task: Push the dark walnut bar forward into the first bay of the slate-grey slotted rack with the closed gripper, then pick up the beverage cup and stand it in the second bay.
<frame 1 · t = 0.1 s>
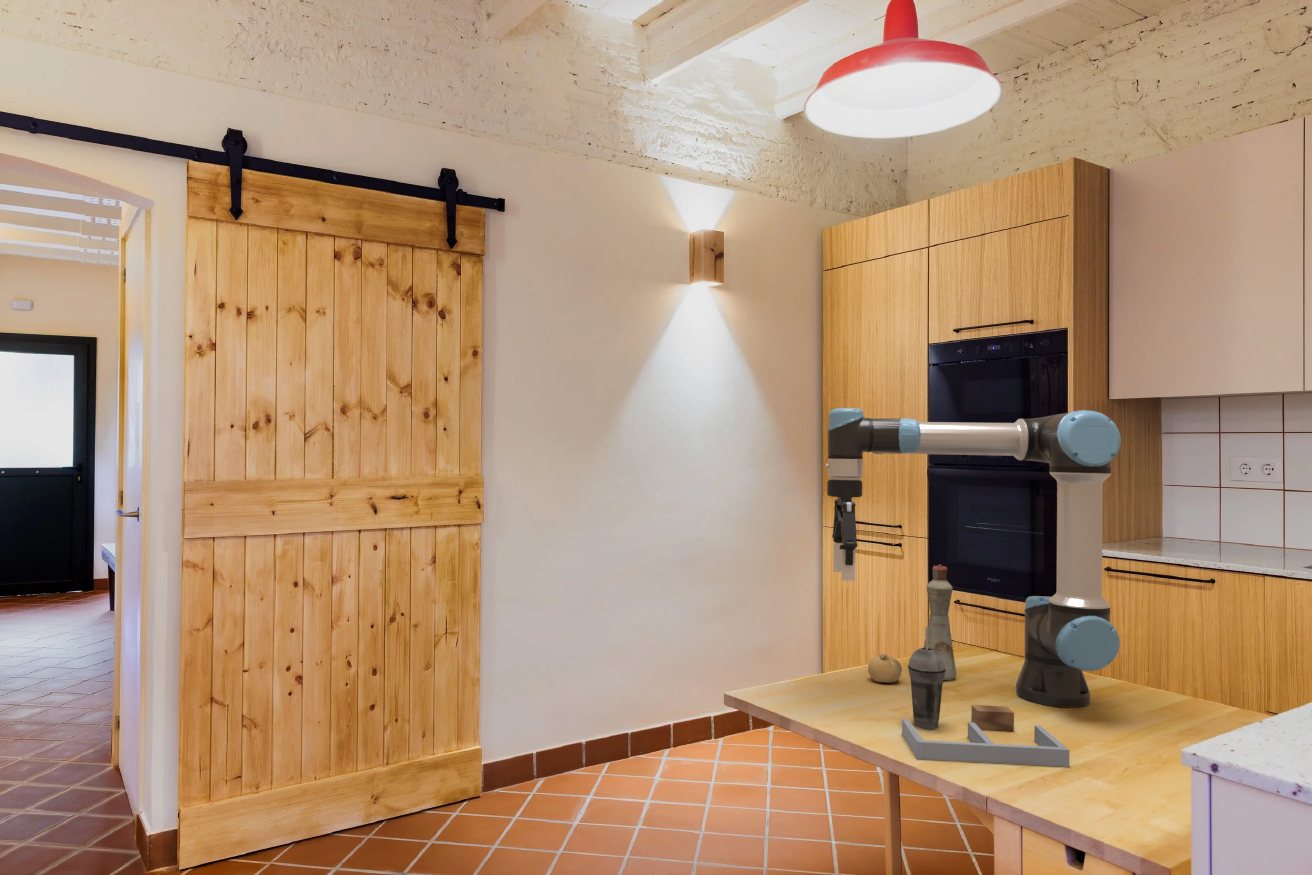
hand: (843, 576, 175), 28 cm above the table, fingers open, 13 cm apart
bottle: (937, 677, 199), on the table
walnut bar: (992, 728, 161), on the table
slot rack: (980, 748, 149), on the table
beverage cup: (926, 726, 161), on the table
onion: (884, 682, 194), on the table
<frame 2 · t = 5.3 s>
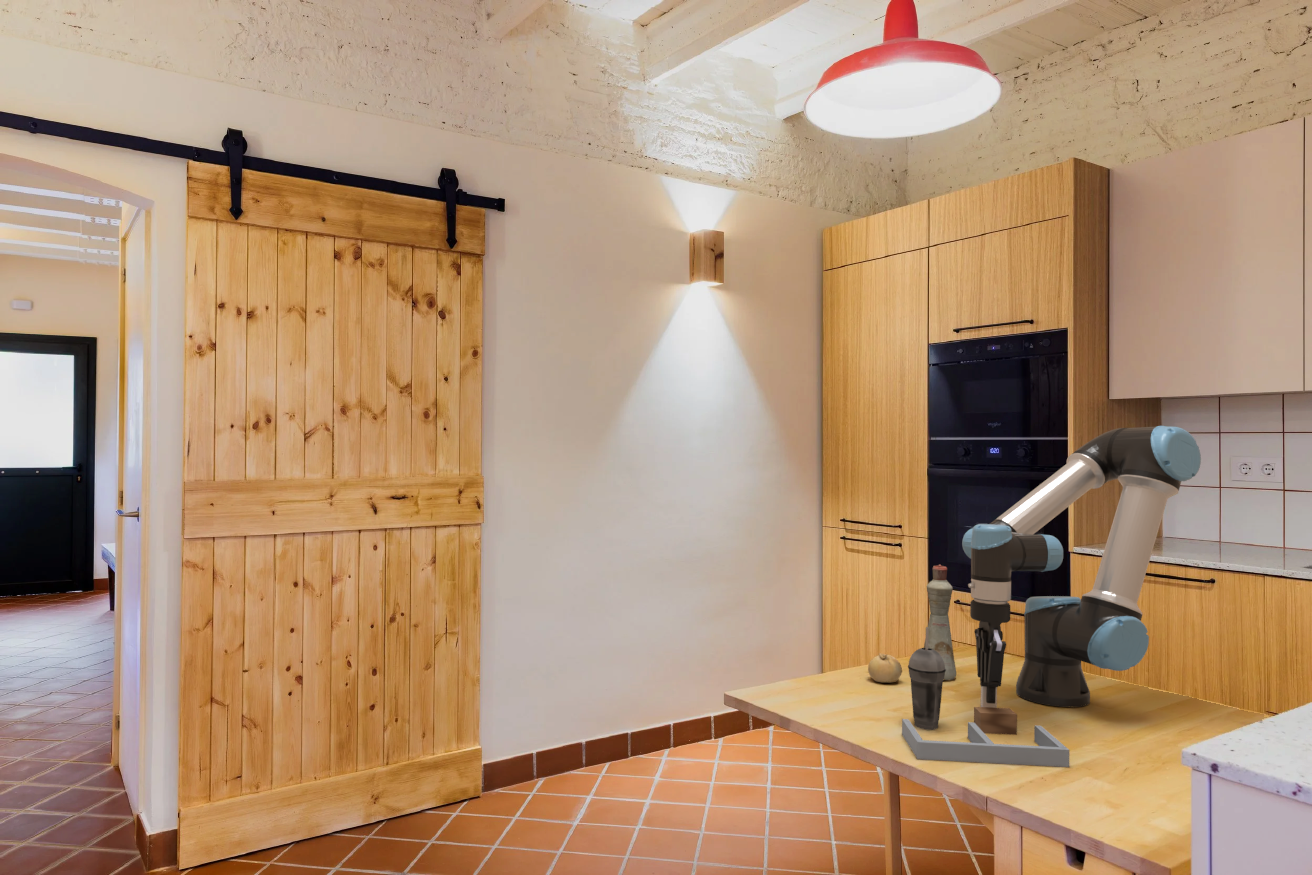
hand: (988, 717, 162), 2 cm above the table, fingers closed
walnut bar: (995, 730, 159), on the table, touching gripper
everything else where it was.
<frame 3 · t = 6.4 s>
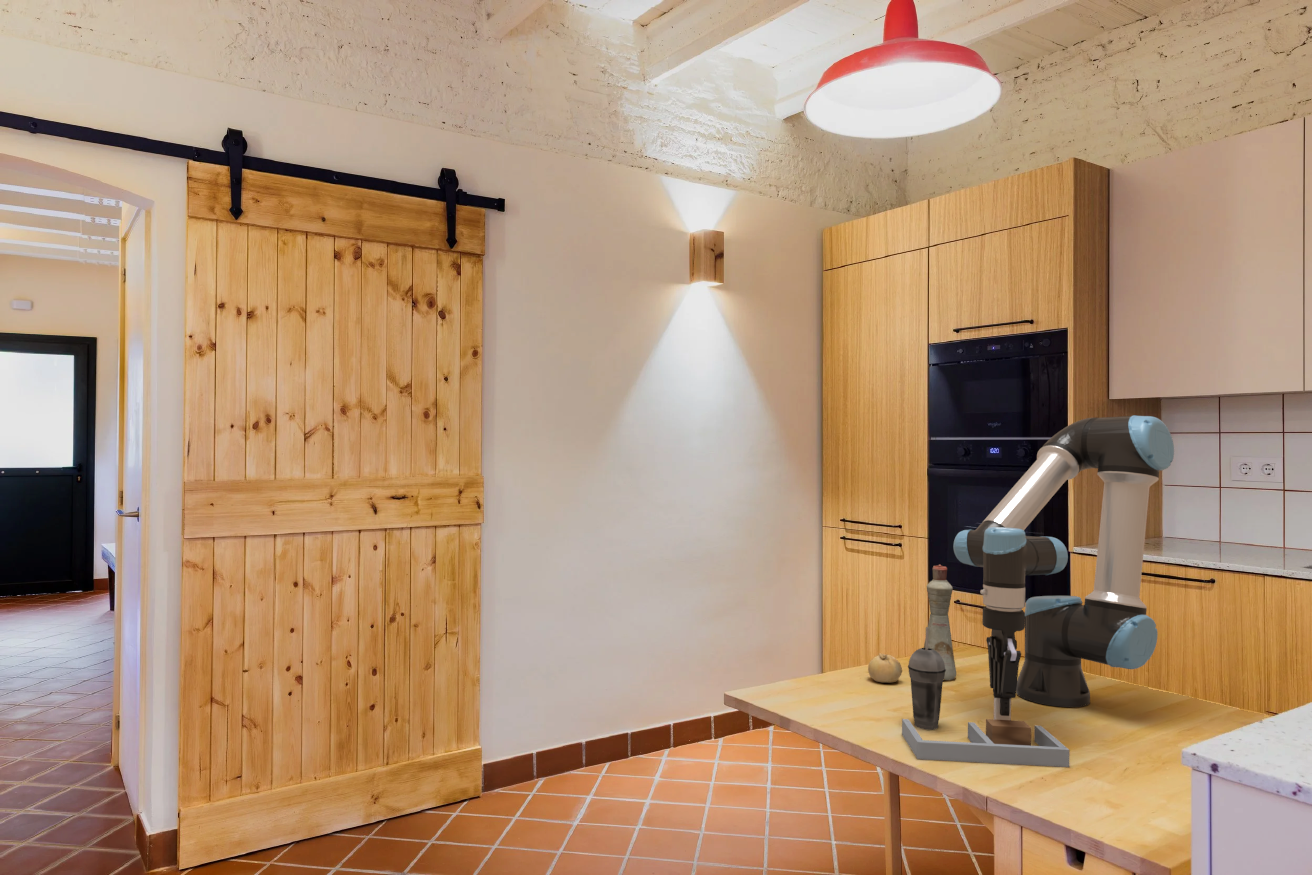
hand: (1002, 730, 155), 2 cm above the table, fingers closed
walnut bar: (1008, 744, 152), on the table, touching gripper
everything else where it was.
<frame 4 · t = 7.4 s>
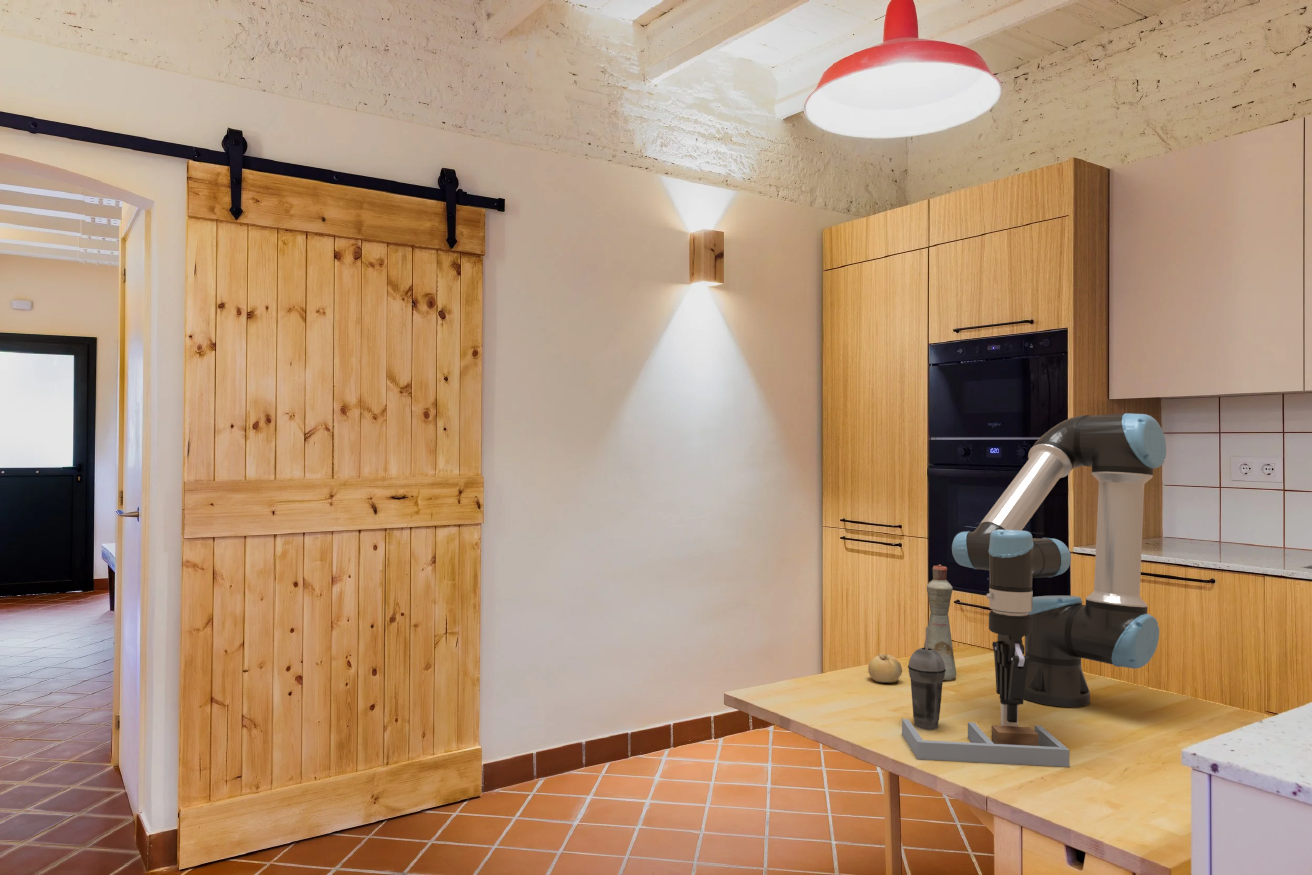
hand: (1009, 737, 151), 1 cm above the table, fingers closed
walnut bar: (1014, 751, 148), on the table
everything else where it was.
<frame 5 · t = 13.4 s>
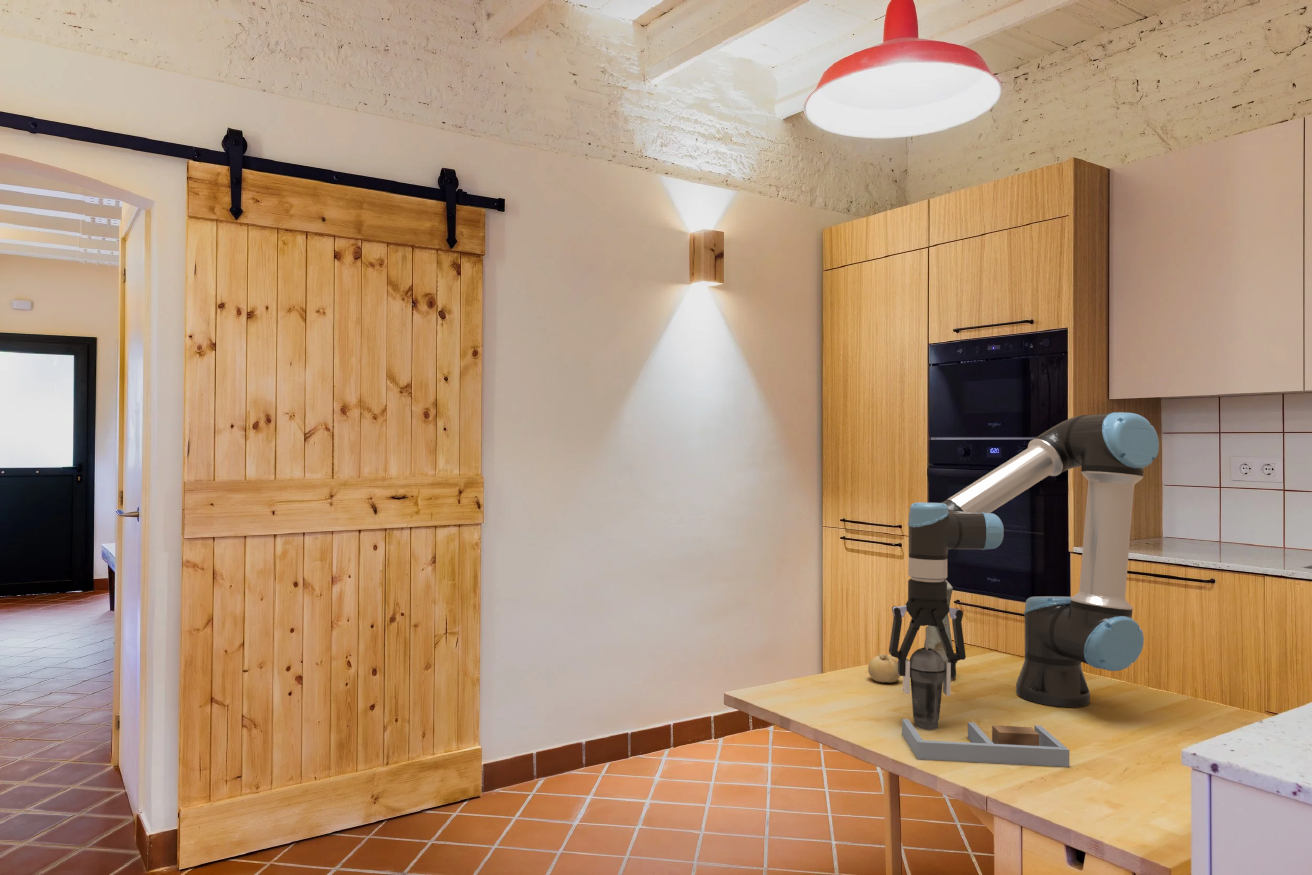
hand: (926, 692, 162), 7 cm above the table, fingers closed on beverage cup, 7 cm apart
beverage cup: (926, 726, 161), on the table, touching gripper
everything else where it was.
when the fingers open (9 cm above the table, at t = 18.1 s): beverage cup drops 2 cm, on the table.
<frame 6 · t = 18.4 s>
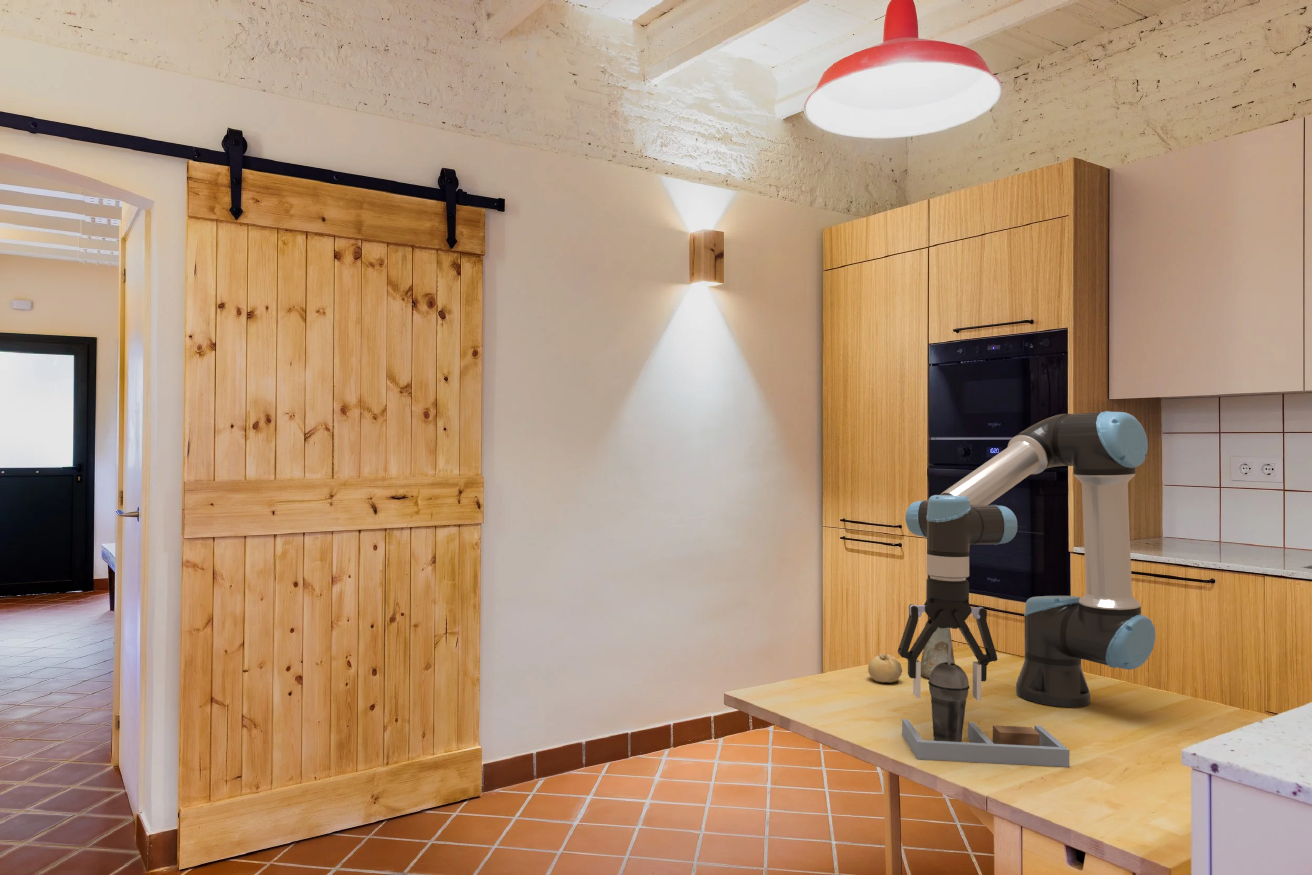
hand: (946, 696, 150), 9 cm above the table, fingers open, 10 cm apart
beverage cup: (947, 747, 149), on the table
everything else where it was.
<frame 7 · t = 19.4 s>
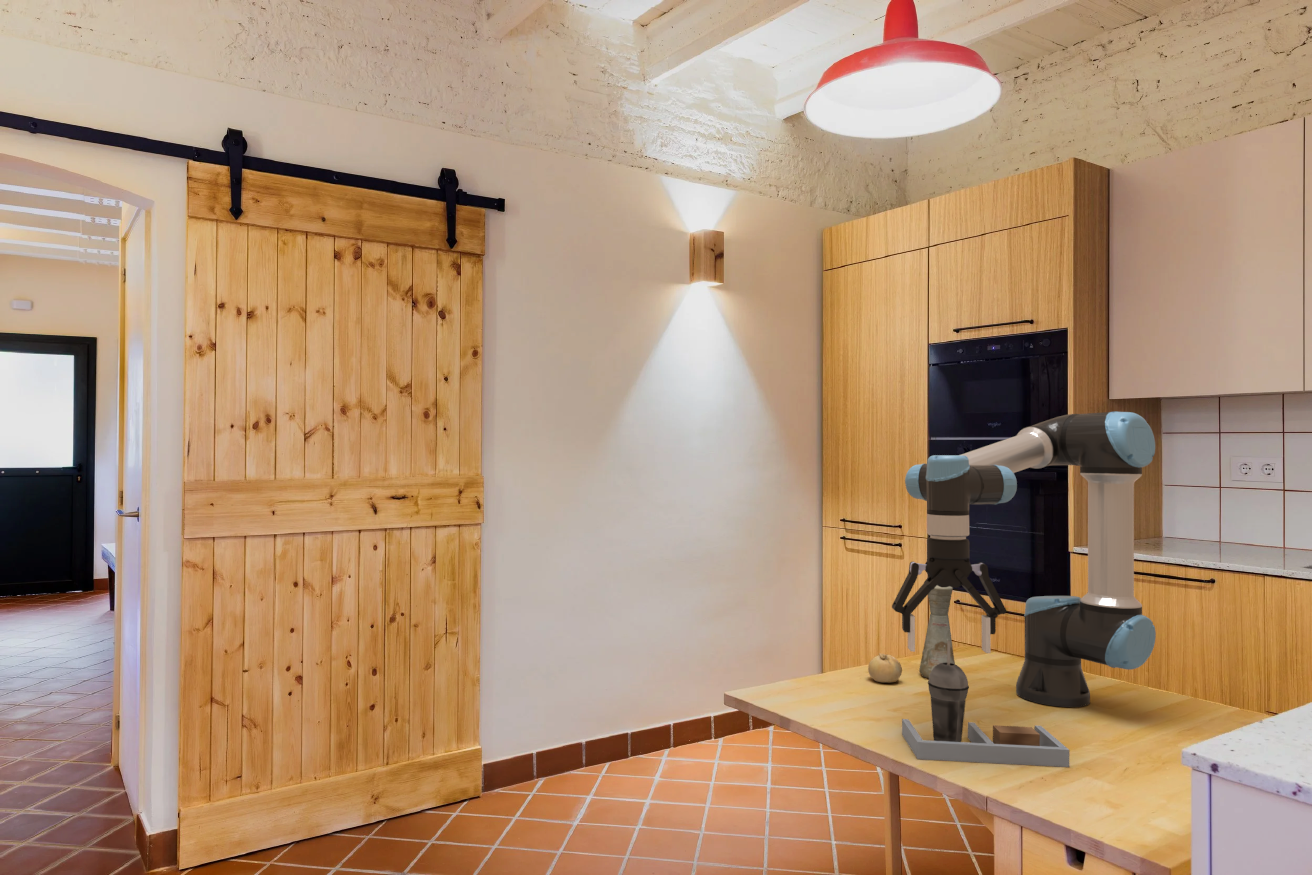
hand: (948, 650, 150), 18 cm above the table, fingers open, 13 cm apart
nothing on the table moved.
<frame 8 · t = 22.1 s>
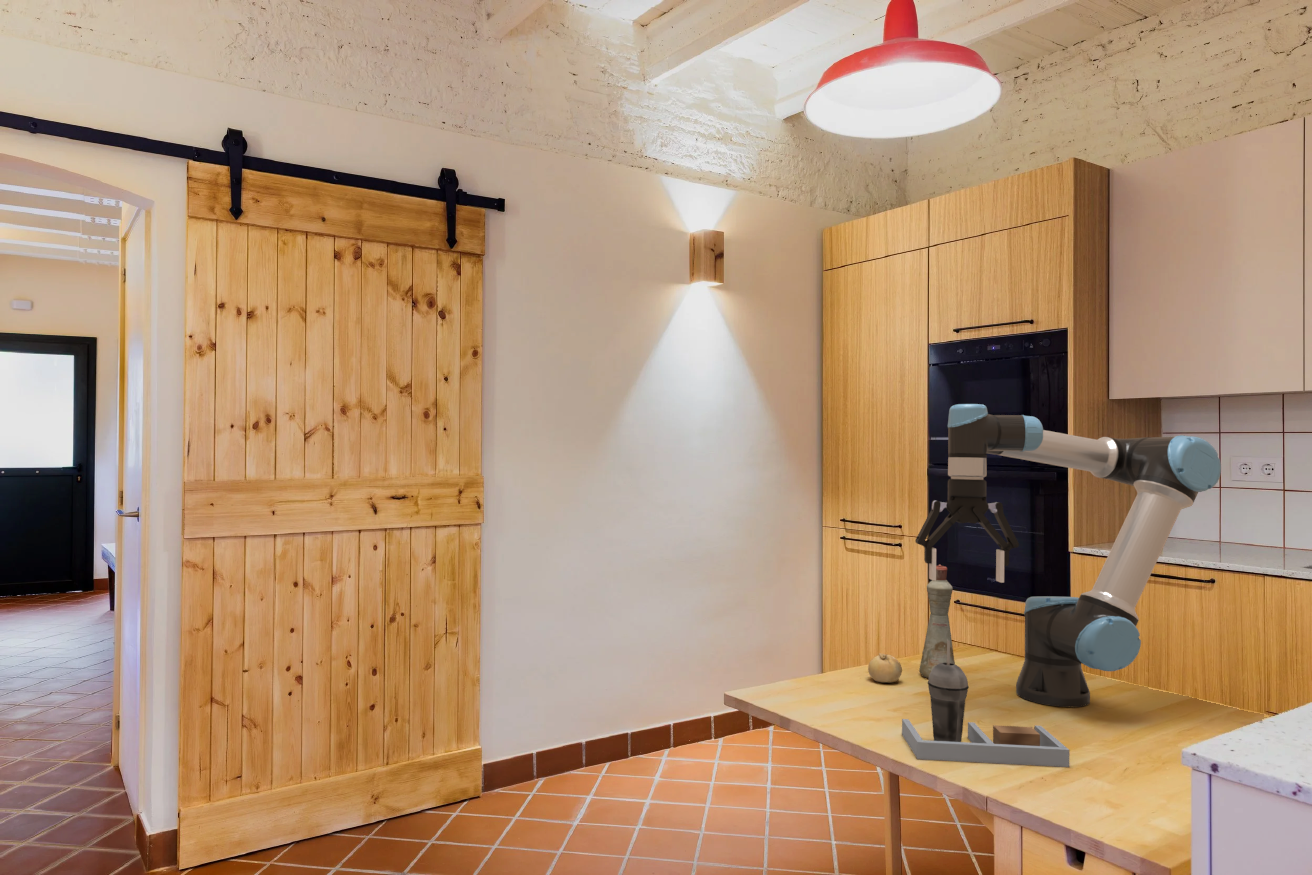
hand: (966, 580, 166), 29 cm above the table, fingers open, 13 cm apart
nothing on the table moved.
at the end: walnut bar inside the target area (0.4 cm from its centre), on the table; beverage cup inside the target area (0.3 cm from its centre), on the table; beverage cup tilted 0° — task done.
